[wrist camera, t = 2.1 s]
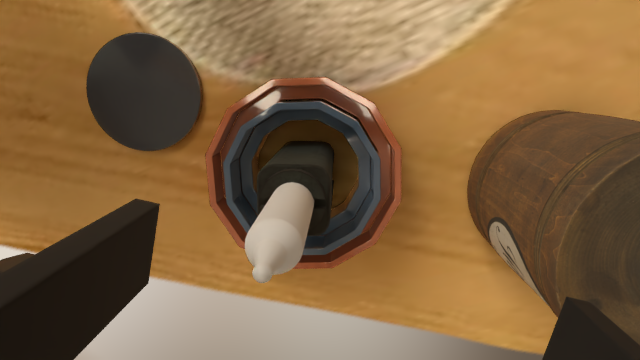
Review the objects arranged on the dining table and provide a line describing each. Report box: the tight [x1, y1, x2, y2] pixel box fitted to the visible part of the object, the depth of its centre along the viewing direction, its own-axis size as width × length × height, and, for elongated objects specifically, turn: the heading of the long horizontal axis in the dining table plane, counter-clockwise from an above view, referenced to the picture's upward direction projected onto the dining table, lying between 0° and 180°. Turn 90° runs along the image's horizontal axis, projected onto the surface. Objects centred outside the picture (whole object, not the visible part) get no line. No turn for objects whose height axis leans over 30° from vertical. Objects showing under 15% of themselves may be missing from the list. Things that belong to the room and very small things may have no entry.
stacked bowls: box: [205, 77, 401, 269], centre depth 39 cm, size 17×17×6 cm
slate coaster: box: [86, 32, 202, 151], centre depth 41 cm, size 11×11×1 cm
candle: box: [245, 141, 334, 283], centre depth 30 cm, size 5×5×25 cm
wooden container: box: [468, 110, 640, 345], centre depth 31 cm, size 15×15×22 cm
